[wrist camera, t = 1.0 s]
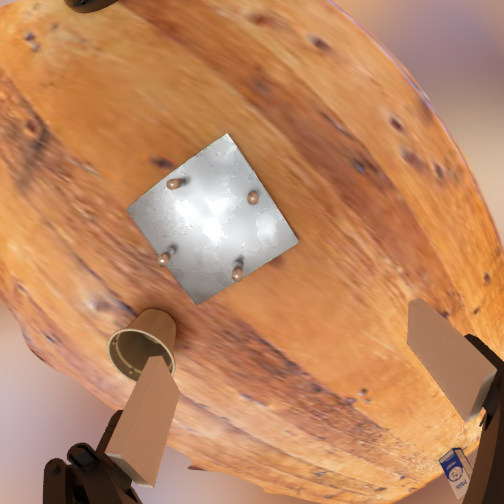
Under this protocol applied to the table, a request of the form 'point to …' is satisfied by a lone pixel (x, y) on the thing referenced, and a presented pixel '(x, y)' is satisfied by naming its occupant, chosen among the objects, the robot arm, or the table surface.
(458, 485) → the milk carton
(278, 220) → the plate
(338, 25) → the table surface
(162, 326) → the flower pot
